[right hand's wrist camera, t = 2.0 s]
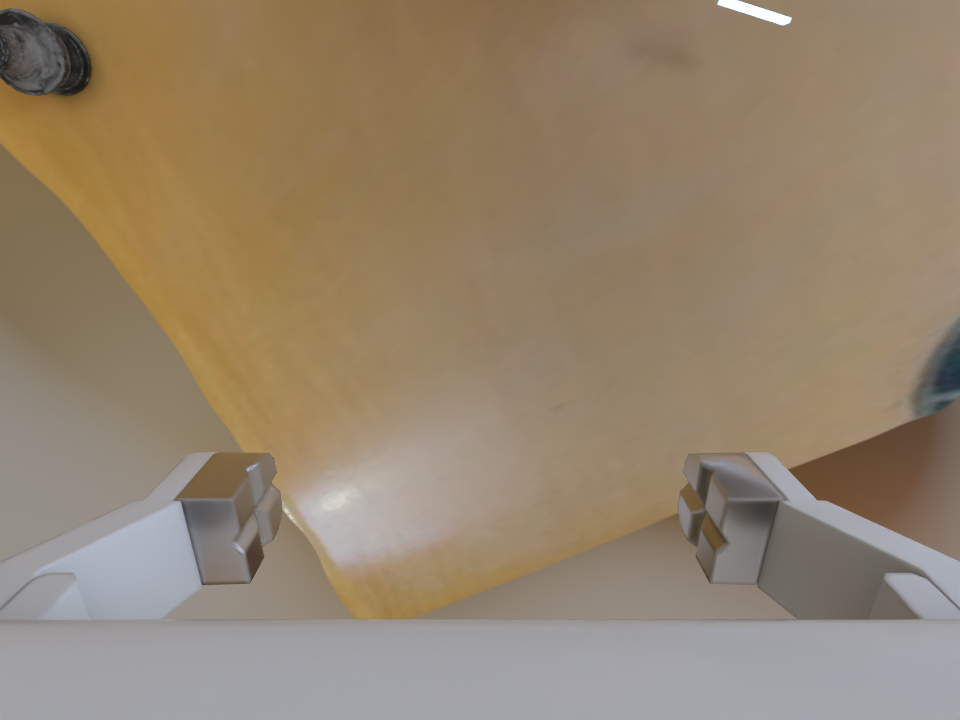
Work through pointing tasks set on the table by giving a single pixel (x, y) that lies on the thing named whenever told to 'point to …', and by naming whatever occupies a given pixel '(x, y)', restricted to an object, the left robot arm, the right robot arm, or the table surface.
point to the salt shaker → (40, 55)
